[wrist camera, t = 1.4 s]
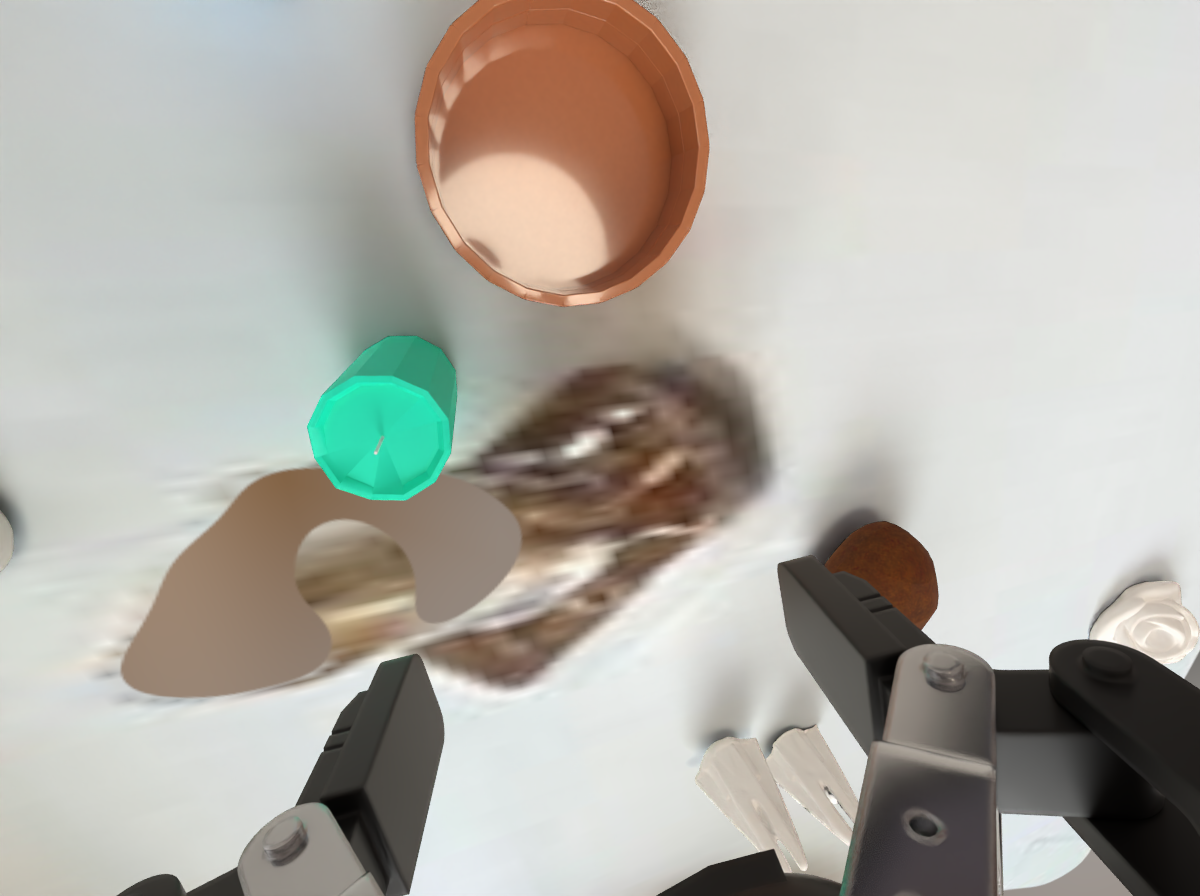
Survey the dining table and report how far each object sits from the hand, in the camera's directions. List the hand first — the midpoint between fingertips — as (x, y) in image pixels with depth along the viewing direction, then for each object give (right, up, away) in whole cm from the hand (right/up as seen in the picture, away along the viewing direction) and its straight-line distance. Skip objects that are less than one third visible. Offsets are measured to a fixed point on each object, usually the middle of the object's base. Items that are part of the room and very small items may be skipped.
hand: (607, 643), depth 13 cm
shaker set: (+13, -22, +39) cm, 47 cm away
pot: (-3, +20, +20) cm, 28 cm away
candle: (-12, +8, +22) cm, 27 cm away
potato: (+20, -5, +34) cm, 40 cm away
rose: (+51, -12, +43) cm, 68 cm away
